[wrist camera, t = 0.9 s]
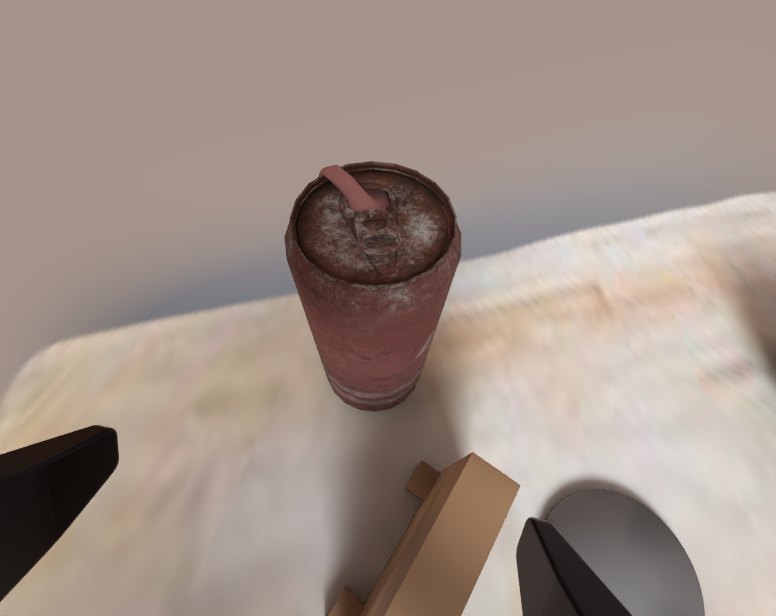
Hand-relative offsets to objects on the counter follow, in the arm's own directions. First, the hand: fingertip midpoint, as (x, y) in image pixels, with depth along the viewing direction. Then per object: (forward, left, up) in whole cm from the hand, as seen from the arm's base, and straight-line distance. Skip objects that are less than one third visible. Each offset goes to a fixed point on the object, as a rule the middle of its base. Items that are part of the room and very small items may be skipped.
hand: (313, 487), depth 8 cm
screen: (0, -4, -14) cm, 15 cm away
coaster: (+5, -13, -14) cm, 20 cm away
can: (+7, +4, -14) cm, 16 cm away
